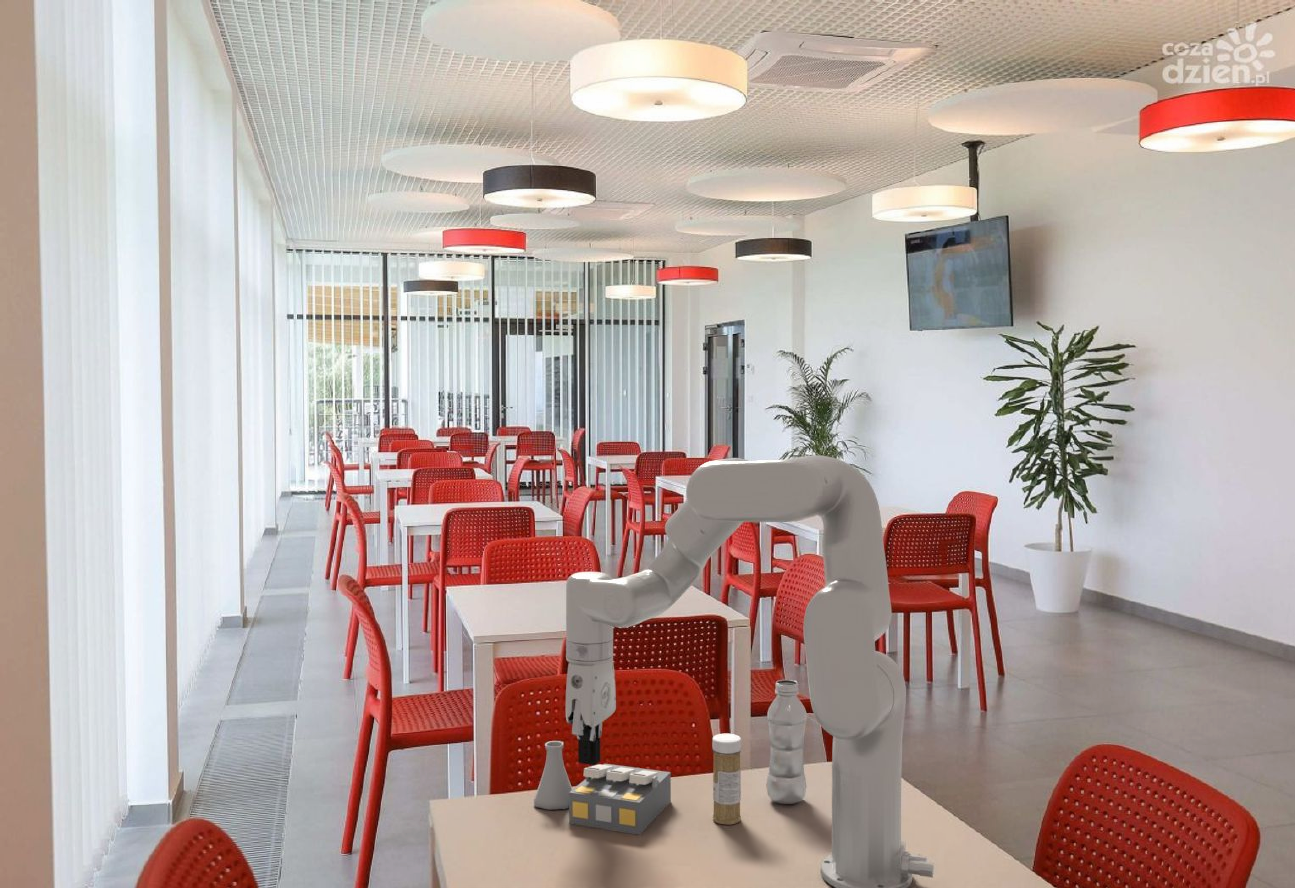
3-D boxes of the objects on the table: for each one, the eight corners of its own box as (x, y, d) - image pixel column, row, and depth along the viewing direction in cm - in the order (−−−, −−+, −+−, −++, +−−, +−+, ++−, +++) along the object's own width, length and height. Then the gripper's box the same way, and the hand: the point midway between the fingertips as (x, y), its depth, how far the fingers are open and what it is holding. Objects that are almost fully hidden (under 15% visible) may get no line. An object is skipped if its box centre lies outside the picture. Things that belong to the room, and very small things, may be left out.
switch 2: (635, 776, 172) (635, 768, 172) (621, 781, 166) (621, 772, 167) (620, 774, 173) (621, 766, 173) (606, 779, 167) (606, 770, 168)
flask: (569, 813, 170) (569, 752, 170) (527, 809, 172) (526, 749, 171) (581, 796, 177) (581, 738, 177) (540, 793, 179) (540, 735, 178)
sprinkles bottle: (715, 813, 169) (714, 731, 169) (743, 815, 168) (743, 733, 168) (710, 824, 165) (710, 740, 164) (739, 827, 164) (739, 742, 163)
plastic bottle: (759, 798, 176) (758, 680, 175) (793, 791, 179) (793, 675, 178) (779, 811, 170) (779, 690, 169) (814, 804, 173) (814, 685, 172)
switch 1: (612, 773, 173) (613, 765, 174) (598, 778, 168) (598, 769, 168) (598, 771, 174) (598, 763, 175) (583, 776, 169) (584, 767, 169)
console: (671, 801, 174) (670, 762, 174) (639, 835, 161) (639, 792, 161) (604, 792, 179) (604, 754, 178) (568, 823, 165) (568, 782, 165)
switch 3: (657, 779, 170) (658, 771, 171) (644, 784, 165) (645, 775, 165) (642, 777, 171) (643, 769, 172) (629, 782, 166) (629, 773, 166)
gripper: (591, 663, 159) (591, 782, 160) (628, 642, 173) (628, 751, 174) (547, 658, 162) (547, 775, 163) (587, 637, 176) (587, 745, 177)
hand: (589, 762), depth 168 cm, fingers closed
